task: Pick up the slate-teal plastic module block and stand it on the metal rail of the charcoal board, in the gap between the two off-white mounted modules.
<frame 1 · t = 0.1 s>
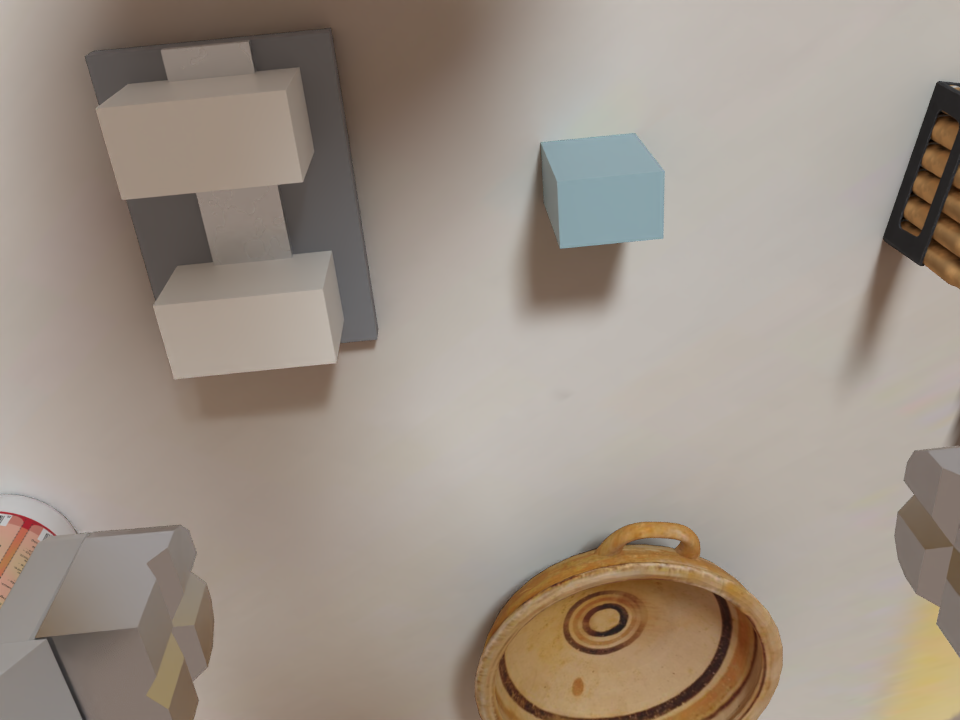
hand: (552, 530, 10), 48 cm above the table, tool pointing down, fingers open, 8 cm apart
fruit juice: (21, 537, 70), on the table
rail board: (248, 202, 57), on the table
ammunition clip: (920, 164, 59), on the table
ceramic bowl: (610, 607, 77), on the table
module block: (588, 168, 58), on the table
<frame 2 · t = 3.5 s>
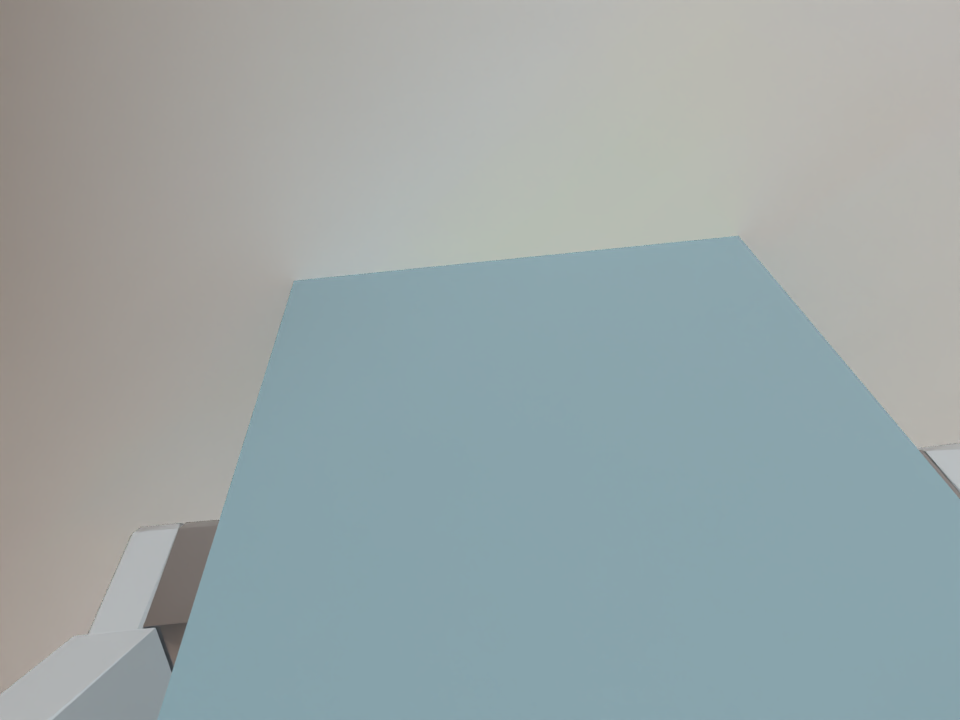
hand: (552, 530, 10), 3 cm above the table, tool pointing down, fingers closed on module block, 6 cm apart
module block: (525, 385, 13), on the table, touching gripper
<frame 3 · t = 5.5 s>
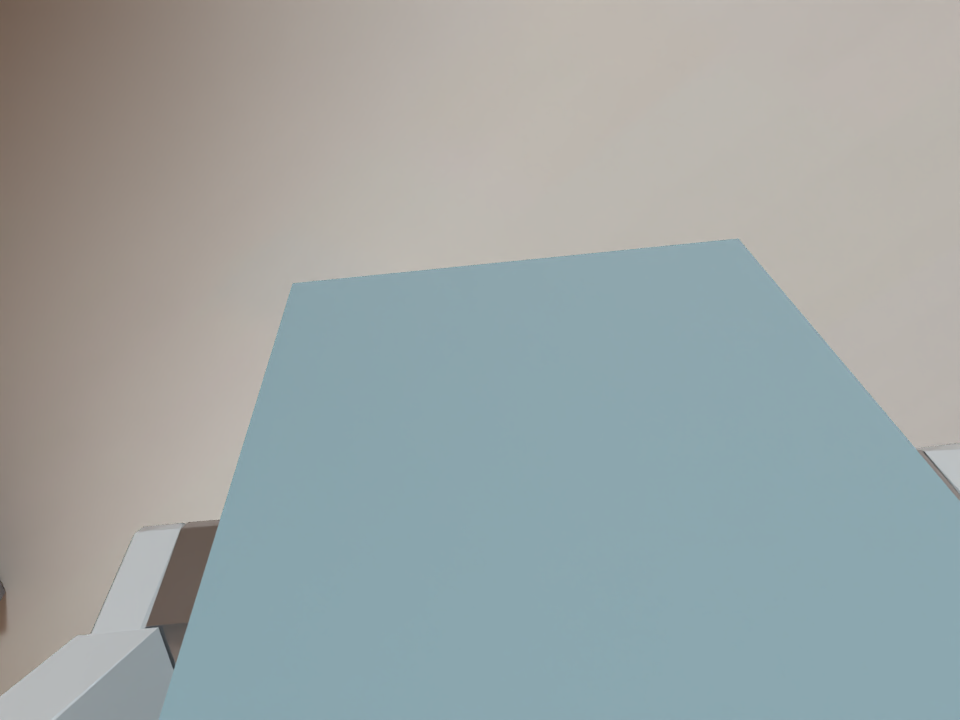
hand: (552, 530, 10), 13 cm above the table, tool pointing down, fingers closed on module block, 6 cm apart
module block: (524, 388, 13), point 9 cm above the table, touching gripper
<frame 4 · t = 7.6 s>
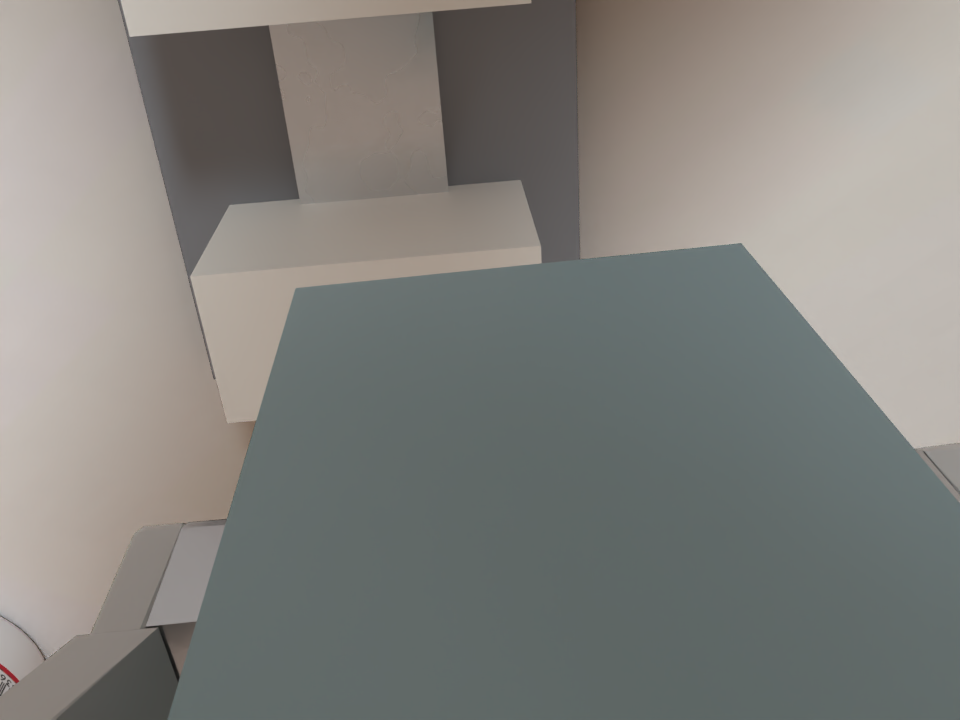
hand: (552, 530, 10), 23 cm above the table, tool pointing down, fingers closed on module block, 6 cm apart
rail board: (365, 86, 30), on the table
module block: (527, 392, 13), point 20 cm above the table, touching gripper
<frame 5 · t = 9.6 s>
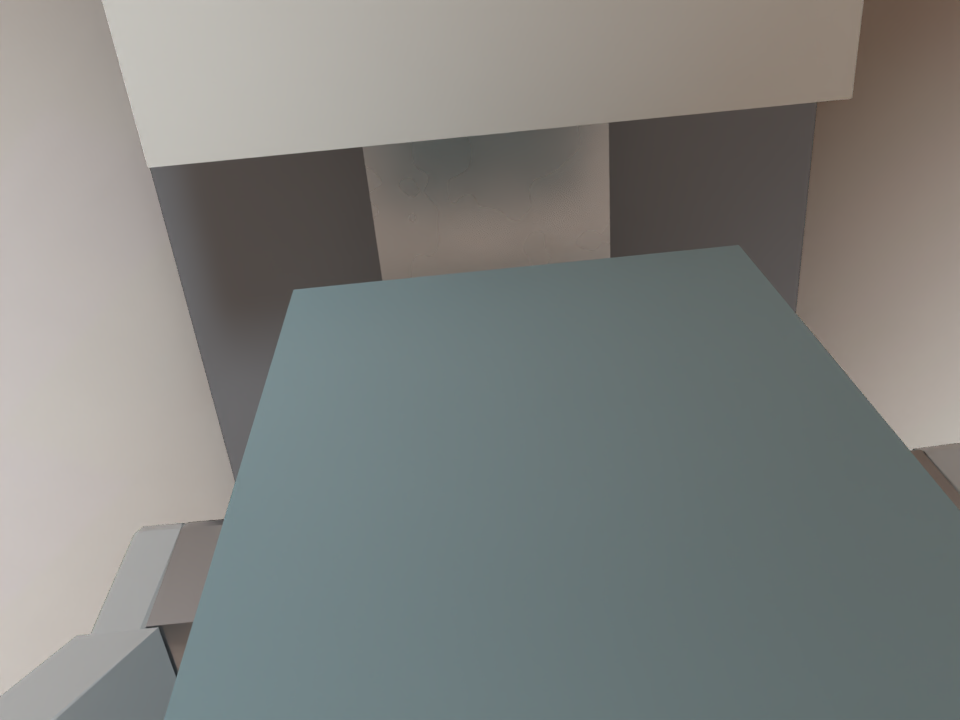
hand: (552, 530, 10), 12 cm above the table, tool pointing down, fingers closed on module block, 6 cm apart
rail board: (486, 185, 21), on the table
module block: (525, 394, 13), point 9 cm above the table, touching gripper
when the fingers open (7 cm above the table, at t = 11.2 s): module block drops 1 cm, resting on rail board.
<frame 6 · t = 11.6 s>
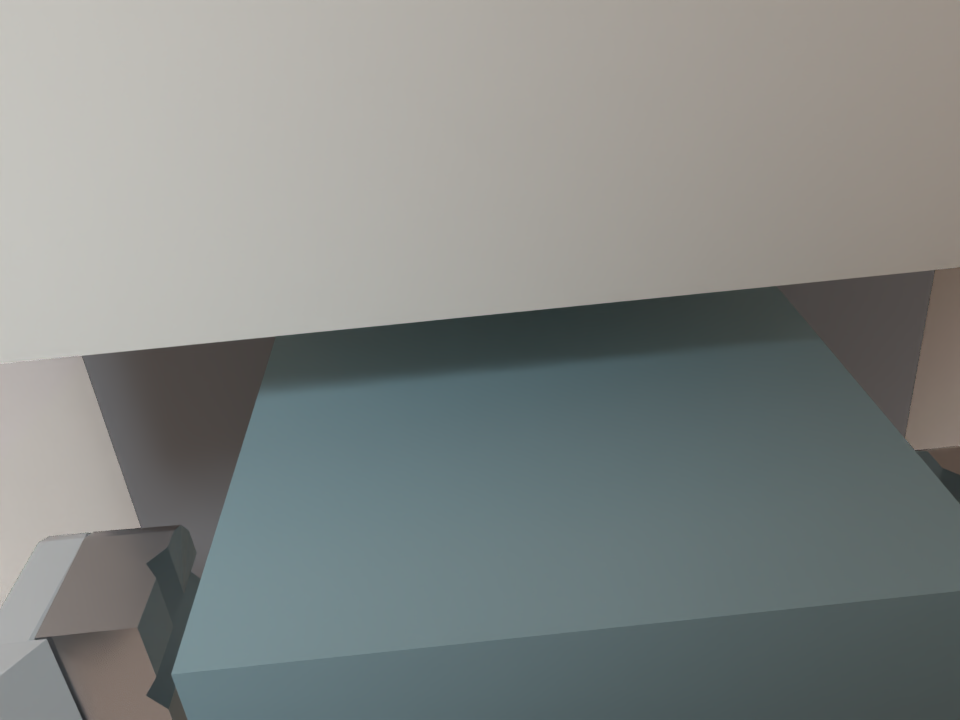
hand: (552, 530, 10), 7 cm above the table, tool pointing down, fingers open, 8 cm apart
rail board: (504, 290, 16), on the table
module block: (515, 343, 14), point 2 cm above the table, touching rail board
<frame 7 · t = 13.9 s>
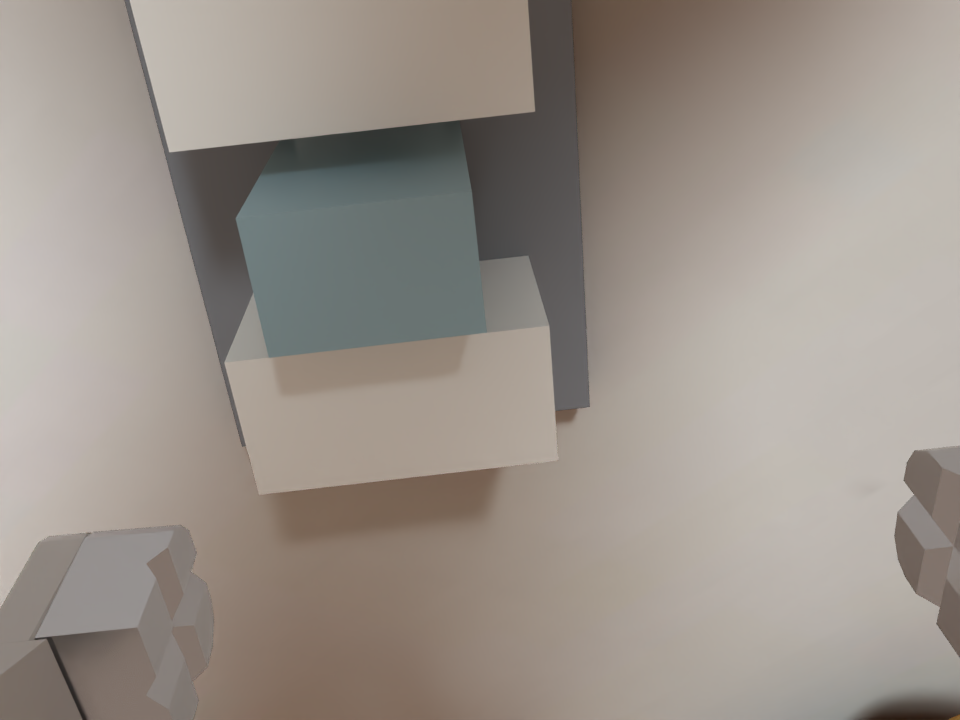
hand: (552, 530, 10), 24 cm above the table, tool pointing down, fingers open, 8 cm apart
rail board: (380, 172, 32), on the table
module block: (378, 188, 31), point 2 cm above the table, touching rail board
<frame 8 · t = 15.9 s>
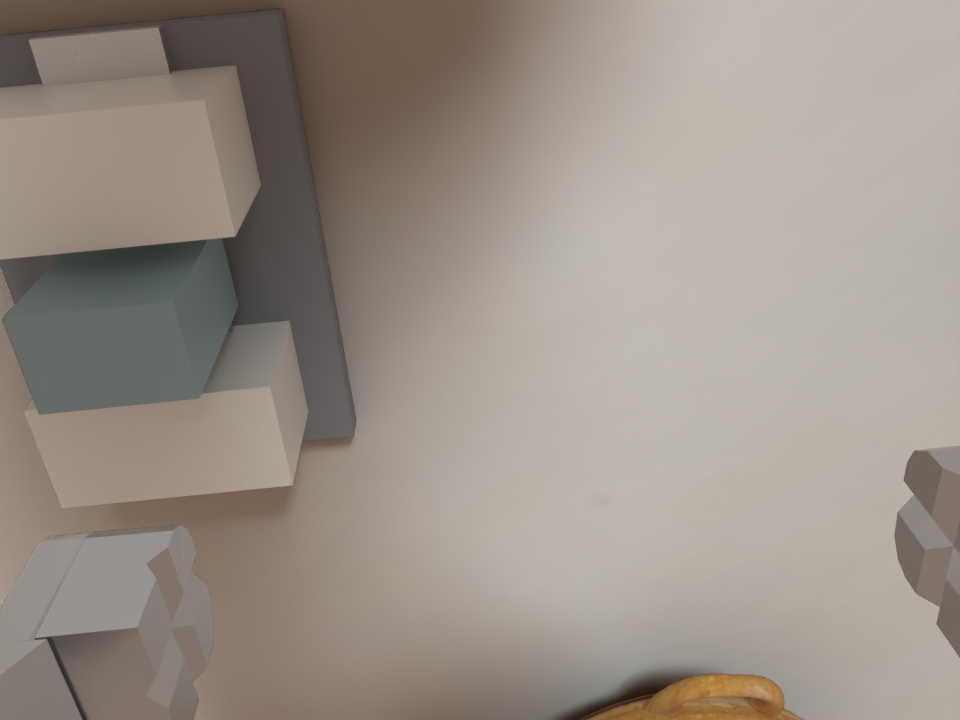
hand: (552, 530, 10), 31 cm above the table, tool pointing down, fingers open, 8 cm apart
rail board: (172, 253, 41), on the table
module block: (160, 271, 39), point 2 cm above the table, touching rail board
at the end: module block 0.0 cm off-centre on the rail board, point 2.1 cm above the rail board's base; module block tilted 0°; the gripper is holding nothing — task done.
